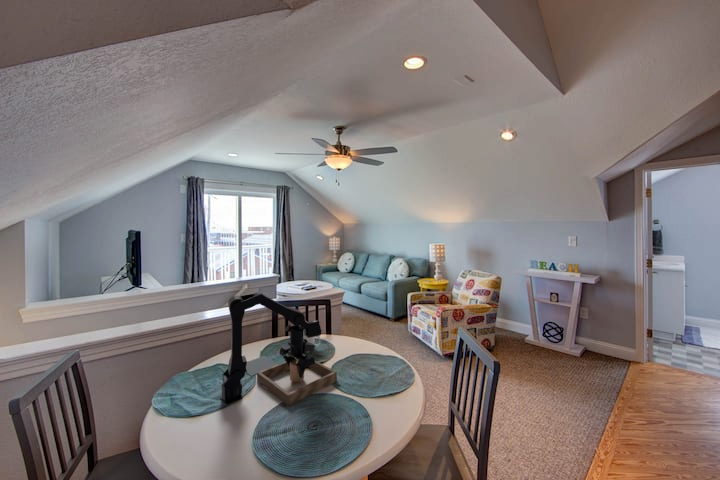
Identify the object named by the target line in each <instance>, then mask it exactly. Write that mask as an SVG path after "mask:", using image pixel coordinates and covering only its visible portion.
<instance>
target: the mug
mask: <svg viewBox="0 0 720 480" xmlns="http://www.w3.org/2000/svg"><path fill="white" fill-rule="evenodd" d="M316 338H318V339H319V342H318V344H317V343H315V339H316ZM303 339H306V340H307V342H310V343H312V344H314V345H315V348H318V347H319V346H320V345H321V336H316V337H310V338H307V336H305V335H304V332H303Z"/></svg>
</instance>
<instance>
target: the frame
mask: <svg viewBox="0 0 720 480" xmlns="http://www.w3.org/2000/svg"><path fill="white" fill-rule="evenodd" d="M303 355H304V356H306V355H307V354H306V355H305V354H303ZM297 359H298V358H297ZM295 360H296V358H295ZM277 364H278V365H275V366H272V367H270V368H267V369H265V370H262V371H259V372H257V374H256V382H257V383H258V384H259V385H261V386H263V388H265V389H266V390H267V391H268V392H270V393H271V394H273V395H274V397H276V398H277V399H279V400H280V401H281V402H282V403H285V405H286V406H288V407H289V406H290V405H292V404H294V403H297V402H298V401H301V400H302V399H304V398H306V397H308V396H310V395H312V394H314V393H315V392H316V393H317V392H318V391H320V390H322V389H324V388H326V387H328V386H330V385H332V384H334V383H335V382H337V380H338V373H337V371H335V370H333V369H332V368H330V367H328V366H326V365H324V364H322V363H321V362H318V361H316V360H315V364H312V365H310V366H308V367H307V368H309V369H311V370H313V371H315V372H316V373H318V374H320V375H321V376H322V377H320V378H317V379H316V380H314V381H311V382H308V383H307V384H304V385H302V386H301V387H298V388H297V389H294V390H293V391H290V392H288V391H287V389H284V388H283V387H281V385H279V384H277V382H275V381H273V380H272V379H271V378H273V377H275V376H277V375H281V374H282V373H285V372H288V371H290V368H289V366H288V364H287V363H286V361H285V360H284V361H282V362H280V363H277Z"/></svg>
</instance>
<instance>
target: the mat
mask: <svg viewBox="0 0 720 480" xmlns="http://www.w3.org/2000/svg"><path fill="white" fill-rule="evenodd" d="M278 364H279V363H277V362H275V361H273V360H272V359H271V358H268V357H267V356H265V355H263V356H259V357H257V358H255V359H251V360H249V361H248V360H247V365H246V370H247V372H245V374H247V375H249V376H250V377H253V376H257V372H259V371H262V370H265V369H267V368H270V367H272V366H275V365H278Z"/></svg>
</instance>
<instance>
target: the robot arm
mask: <svg viewBox="0 0 720 480" xmlns="http://www.w3.org/2000/svg"><path fill="white" fill-rule="evenodd" d="M227 304H228V311H229V315H230V320H231V322H230V323H231V324H230V326H231V327H230V328H231V329H230V330H231V331H230V333H231V334H230V336H231V337H230V340H231V341H230V344H231V345H230V357H229V360H228V365H227V369H225V371H224V372H223V373H222V374H221V376H222V383H221V384H220V385H221V395H220V397H219V398H220V400H221V401H223V404H225V405H229V404H231V403H233V402H236V401H238V400H240V399H242V398H243V397H244V396H243V384H242V382H241V380H242V379H244V377H245V375H246V372H247V370H246V365H247V362H248V360H247V358H246V356H245V355H243V320H244V316H245V312H246V310H248V309H251V308H253V307H255V306H257V305H261V306H262V307H265V308H266V309H269V310H270V311H273V312H274V313H277V314H278V315H280V316H282V317H283V318H284V319H286V320H287V321H288V322H289V324H288V325H287V326H286V327H284V330H285V332H287V333H289V341H287V345H284V346H282V347H281V348H280V349H279V355H281V356H282V358H283V359H284V362H285V361H286V363H287V364H288V366H289V368H290V362H291V361H292V360H295V358H296V359H297V358H298V359H299V360H298V364H296V367H297V370H298V373H299V376H300V378H302V377H303V374H304V375H305V371H306V368H309V367H308V366H310V365H312V364H315V361H316V358H315V357H314V356H312V355H311V354H307V353H314V352H315V348H316V347H315V345H314V344H312V343H310V342H307V340H306V339H303V332H304V335H305V336H307V338H310V337H315V338H317V337H316V336H319V337H321V336H322V329H321V325H320V320H319V319H315V320H313V321H307V320H306V317H305V314H304V313H302V312H301V310H299V309H297V308H294V307H290V306H286V305H284V304H282V303H281V302H278V301H276V300H274V299H272V298H271V297H269V296H267V295H265V294H264V293H262V292H260V291H257V292H254V293H250V294H243V295H233V296H231V297H230V298H229V300H228V301H227ZM291 324H292V325H291ZM305 354H306V356H304V355H305Z"/></svg>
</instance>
